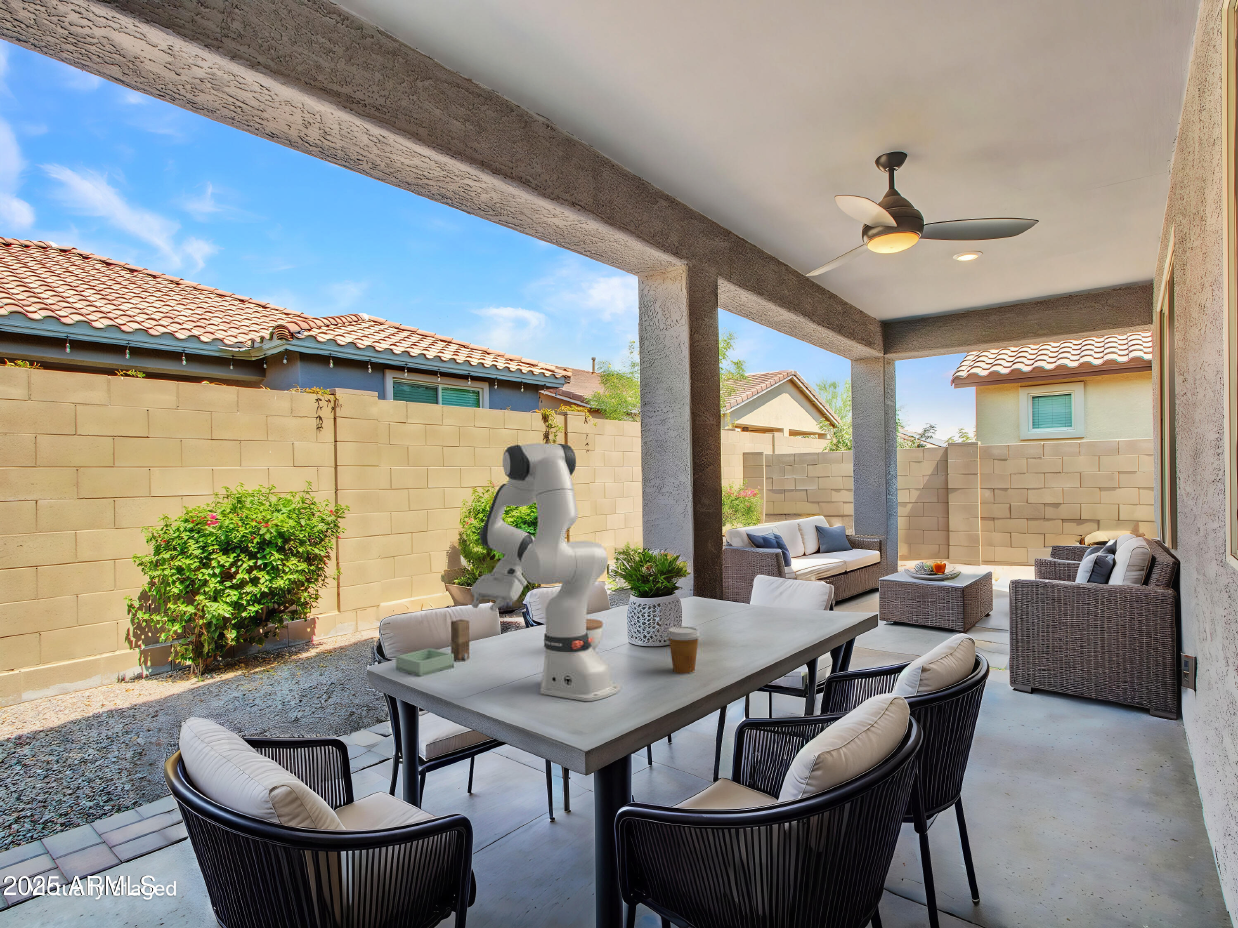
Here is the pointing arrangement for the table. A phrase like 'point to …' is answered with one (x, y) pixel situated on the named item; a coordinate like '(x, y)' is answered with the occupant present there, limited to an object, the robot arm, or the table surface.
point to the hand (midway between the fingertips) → (483, 608)
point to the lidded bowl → (594, 631)
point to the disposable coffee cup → (683, 648)
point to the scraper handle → (460, 639)
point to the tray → (424, 662)
